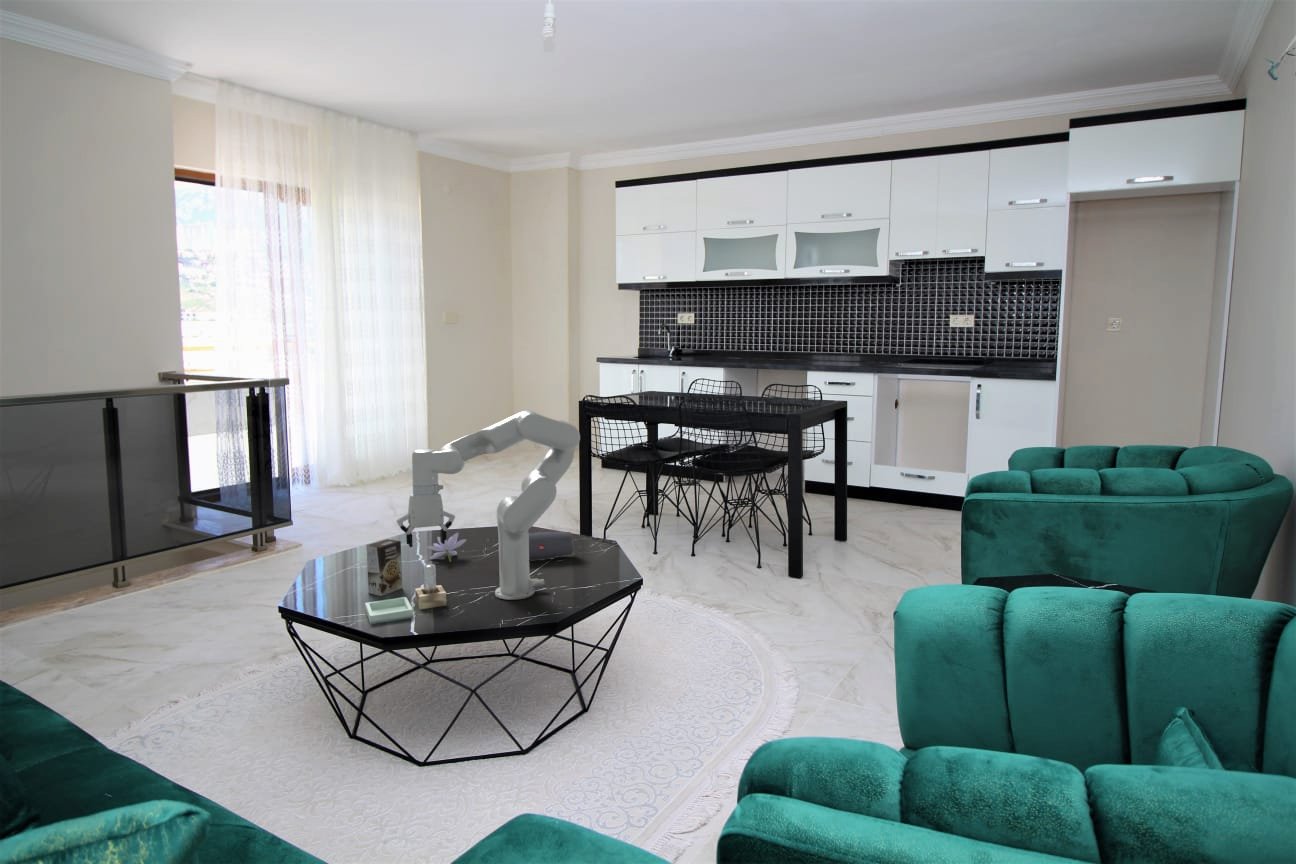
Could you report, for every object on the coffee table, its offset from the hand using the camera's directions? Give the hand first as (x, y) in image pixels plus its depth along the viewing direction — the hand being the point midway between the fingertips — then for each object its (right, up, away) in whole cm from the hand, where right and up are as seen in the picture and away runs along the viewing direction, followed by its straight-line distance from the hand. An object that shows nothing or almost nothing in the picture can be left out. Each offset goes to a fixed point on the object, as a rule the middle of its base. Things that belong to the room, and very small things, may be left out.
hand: (426, 544), depth 242 cm
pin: (+1, -19, +3) cm, 19 cm away
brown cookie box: (-17, -17, +14) cm, 28 cm away
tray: (-9, -20, -6) cm, 23 cm away
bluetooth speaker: (+28, -13, +48) cm, 57 cm away
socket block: (+1, -19, +3) cm, 19 cm away
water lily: (-6, -13, +49) cm, 51 cm away
